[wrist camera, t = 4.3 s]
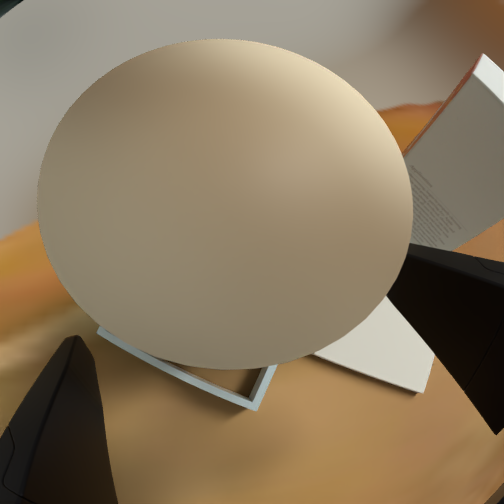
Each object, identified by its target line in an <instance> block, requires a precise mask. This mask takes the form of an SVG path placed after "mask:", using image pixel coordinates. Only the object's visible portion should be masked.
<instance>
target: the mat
mask: <svg viewBox="0 0 504 504" xmlns="http://www.w3.org/2000/svg"><path fill="white" fill-rule="evenodd" d="M312 355H315V356H317V357H320V358H322V359H325V360H327V361H330V362H333V363H335V364H338V365H340V366H343V367H346V368H348V369H351V370H354V371H356V372H359V373H362V374H365V375H367V376H370V377H373V378H376V379H379V380H381V381H384V382H387V383H390V384H393V385H396V386H399V387H402V388H405V389H408V390H411V391H414V392H417V393H424V390H425V387H426V383H427V380H428V377H429V374H430V370H431V367H432V363H433V360H434V356H435V354H434V353H433V352H432V350H431V349H430V348H429V347H428V345H427V344H426V343H425V342H424V341H423V339H422V338H421V337H420V336H419V335H418V333H417V332H416V331H415V330H414V329H413V327H412V326H411V325H410V324H409V323H408V322H407V320H406V319H405V318H404V317H403V316H402V315H401V313H400V312H399V311H398V310H397V309H396V308H395V307H394V305H393V304H392V303H391V302H390V300H389V299H388V298H387V296H385V297H384V299H383V300H382V301H381V303H380V304H379V305H378V306H377V307H376V308H375V309H374V310H373V312H372V313H371V314H370V315H369V316H368V317H367V318H366V319H365V320H364V321H363V322H361V323H360V324H359V325H358V326H356V327H355V328H354V329H353V330H351V331H350V332H349V333H348V334H346V335H345V336H344V337H342V338H340V339H339V340H337V341H335V342H333V343H332V344H330V345H328V346H326V347H325V348H323V349H321V350H319V351H317V352H314V353H312Z"/></svg>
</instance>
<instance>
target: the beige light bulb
mask: <svg viewBox="0 0 504 504" xmlns="http://www.w3.org/2000/svg"><path fill="white" fill-rule="evenodd" d="M37 212H38V220H39V227H40V233H41V237H42V240H43V243H44V247H45V250H46V253H47V256H48V258H49V260H50V262H51V265H52V267H53V269H54V271H55V272H56V274H57V276H58V278H59V280H60V282H61V283H62V285H63V286H64V287H65V289H66V290H67V291H68V293H69V294H70V295H71V297H72V298H73V299H74V301H75V302H76V303H77V304H78V305H79V306H80V307H81V308H82V309H83V310H84V311H85V312H86V313H87V314H88V315H89V316H90V317H91V318H92V319H93V320H94V321H95V322H96V323H97V324H98V325H100V326H101V327H103V328H104V329H106V330H107V331H108V332H110V333H111V334H113V335H114V336H116V337H117V338H119V339H120V340H122V341H123V342H125V343H127V344H129V345H131V346H133V347H135V348H137V349H139V350H142V351H144V352H146V353H148V354H150V355H153V356H155V357H158V358H161V359H165V360H168V361H172V362H175V363H179V364H183V365H186V366H193V367H201V368H209V369H219V370H235V369H256V368H262V367H267V366H272V365H277V364H282V363H286V362H290V361H293V360H296V359H298V358H301V357H304V356H306V355H309V354H312V353H314V352H317V351H319V350H321V349H323V348H325V347H326V346H328V345H330V344H332V343H333V342H335V341H337V340H339V339H340V338H342V337H344V336H345V335H346V334H348V333H349V332H350V331H351V330H353V329H354V328H355V327H356V326H358V325H359V324H360V323H361V322H363V321H364V320H365V319H366V318H367V317H368V316H369V315H370V314H371V313H372V312H373V310H374V309H375V308H376V307H377V306H378V305H379V304H380V303H381V301H382V300H383V299H384V297H385V296H386V294H387V293H388V291H389V290H390V288H391V287H392V285H393V283H394V282H395V280H396V279H397V276H398V274H399V272H400V269H401V267H402V265H403V262H404V260H405V258H406V254H407V250H408V246H409V243H410V239H411V232H412V222H413V199H412V190H411V185H410V179H409V175H408V171H407V168H406V165H405V162H404V159H403V156H402V154H401V152H400V149H399V147H398V145H397V143H396V141H395V139H394V137H393V135H392V134H391V132H390V130H389V129H388V127H387V125H386V124H385V122H384V121H383V120H382V118H381V117H380V116H379V114H378V113H377V112H376V111H375V109H374V108H373V107H372V106H371V105H370V104H369V103H368V102H367V101H366V100H365V98H363V97H362V95H361V94H360V93H358V92H357V91H356V90H355V89H354V88H353V87H351V86H350V85H349V84H348V83H347V82H346V81H344V80H343V79H341V78H340V77H338V76H337V75H336V74H334V73H333V72H331V71H330V70H328V69H326V68H324V67H323V66H321V65H319V64H317V63H315V62H314V61H312V60H309V59H307V58H305V57H303V56H301V55H298V54H296V53H293V52H290V51H287V50H285V49H281V48H278V47H275V46H270V45H266V44H262V43H257V42H250V41H244V40H232V39H204V40H195V41H187V42H181V43H177V44H172V45H168V46H164V47H161V48H158V49H155V50H152V51H149V52H146V53H144V54H141V55H139V56H137V57H134V58H132V59H130V60H128V61H126V62H124V63H123V64H121V65H119V66H117V67H116V68H114V69H112V70H111V71H110V72H108V73H107V74H105V75H104V76H102V77H101V78H100V79H98V80H97V81H96V82H95V83H94V84H92V86H90V87H89V88H88V89H87V90H86V91H85V92H84V93H83V94H82V95H81V96H80V97H79V98H78V99H77V100H76V101H75V103H74V104H73V105H72V106H71V107H70V108H69V110H68V111H67V113H66V114H65V115H64V117H63V118H62V120H61V121H60V123H59V125H58V126H57V128H56V130H55V132H54V134H53V136H52V138H51V140H50V142H49V144H48V147H47V150H46V153H45V156H44V159H43V162H42V165H41V171H40V176H39V181H38V192H37Z"/></svg>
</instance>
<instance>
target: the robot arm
mask: <svg viewBox="0 0 504 504" xmlns="http://www.w3.org/2000/svg"><path fill="white" fill-rule="evenodd" d="M386 296H387V298H388V299H389V300H390V302H391V303H392V304H393V305H394V307H395V308H396V309H397V310H398V311H399V312H400V313H401V315H402V316H403V317H404V318H405V319H406V320H407V322H408V323H409V324H410V325H411V326H412V327H413V329H414V330H415V331H416V332H417V333H418V335H419V336H420V337H421V338H422V339H423V341H424V342H425V343H426V344H427V345H428V347H429V348H430V349H431V350H432V352H433V353H434V354H435V355H436V356H437V358H438V359H439V360H440V361H441V363H442V364H443V365H444V366H445V368H446V369H447V370H448V372H449V373H450V374H451V375H452V377H453V378H454V379H455V381H456V382H457V383H458V384H459V386H460V387H461V388H462V390H463V391H464V393H465V394H466V395H467V397H468V398H469V399H470V401H471V402H472V403H473V405H474V406H475V408H476V409H477V410H478V412H479V413H480V414H481V416H482V417H483V419H484V420H485V421H486V423H487V424H488V426H489V427H490V429H491V430H492V431H493V433H494V434H495V435H497V434H498V433H499V432H500V431H501V430H502V429H503V428H504V262H499V261H494V260H489V259H485V258H480V257H476V256H475V257H473V256H471V255H466V254H462V253H457V252H452V251H447V250H443V249H438V248H433V247H428V246H423V245H418V244H413V243H409V246H408V250H407V254H406V258H405V260H404V262H403V265H402V267H401V269H400V272H399V274H398V276H397V279H396V280H395V282H394V283H393V285H392V287H391V288H390V290H389V291H388V293H387V294H386ZM0 504H118V501H117V496H116V492H115V487H114V482H113V477H112V472H111V466H110V460H109V454H108V447H107V440H106V432H105V424H104V415H103V407H102V401H101V396H100V391H99V385H98V380H97V374H96V367H95V361H94V358H93V356H92V354H91V352H90V351H89V349H88V348H87V346H86V344H85V343H84V341H83V340H82V338H81V337H80V336H79V335H73V336H70V337H67V338H65V339H64V341H63V342H62V343H61V345H60V346H59V348H58V349H57V350H56V352H55V353H54V355H53V356H52V358H51V359H50V360H49V362H48V363H47V365H46V366H45V368H44V369H43V371H42V372H41V373H40V375H39V376H38V378H37V379H36V381H35V382H34V384H33V386H32V387H31V389H30V390H29V392H28V393H27V395H26V396H25V398H24V400H23V401H22V403H21V404H20V406H19V408H18V409H17V411H16V412H15V414H14V416H13V417H12V419H11V421H10V422H9V426H7V427H6V429H5V431H4V433H3V435H2V436H1V438H0ZM484 504H504V483H503V484H502V485H501V486H500V487H499V488H498V490H497V491H496V492H495V493H494V494H493V495H492V496H491V497H490V498H489V499H488V500H487V501H486V502H485V503H484Z"/></svg>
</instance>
